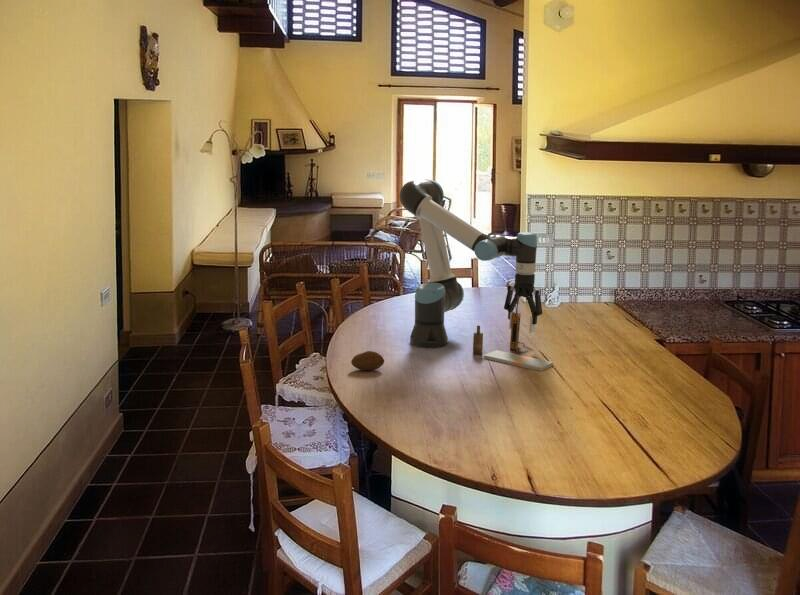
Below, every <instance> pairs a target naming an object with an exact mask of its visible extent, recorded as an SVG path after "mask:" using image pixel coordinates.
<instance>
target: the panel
mask: <svg viewBox="0 0 800 595" xmlns="http://www.w3.org/2000/svg"><path fill="white" fill-rule="evenodd" d="M483 358H484V359H486V360H488V361H489V360H490V361H495V362H499V363H503V364H507V365H511V366H517V367H521V368H526V369H530V370H535V371H539V372H542V371H544V370H546V369H549V368H550V367H552V366H554V362H553V361H550V360H545V359H540V358H535V357H532V356H531V357H530V356H526V355H521V354H517V353H511V352H508V351H502V350H498V349H496V350H493V351H491V352H488V353H485V354H484V355H483Z"/></svg>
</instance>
